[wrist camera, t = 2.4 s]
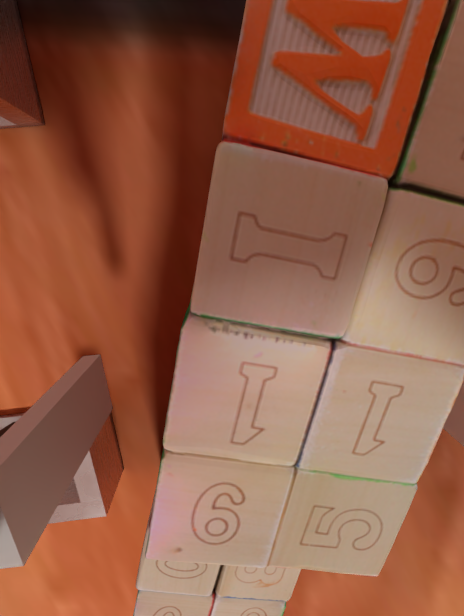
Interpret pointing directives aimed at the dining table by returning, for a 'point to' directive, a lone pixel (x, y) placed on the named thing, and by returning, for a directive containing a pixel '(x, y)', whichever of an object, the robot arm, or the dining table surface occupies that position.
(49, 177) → the dining table surface
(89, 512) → the grey piece
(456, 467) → the dining table surface
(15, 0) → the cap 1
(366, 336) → the stack of blocks
